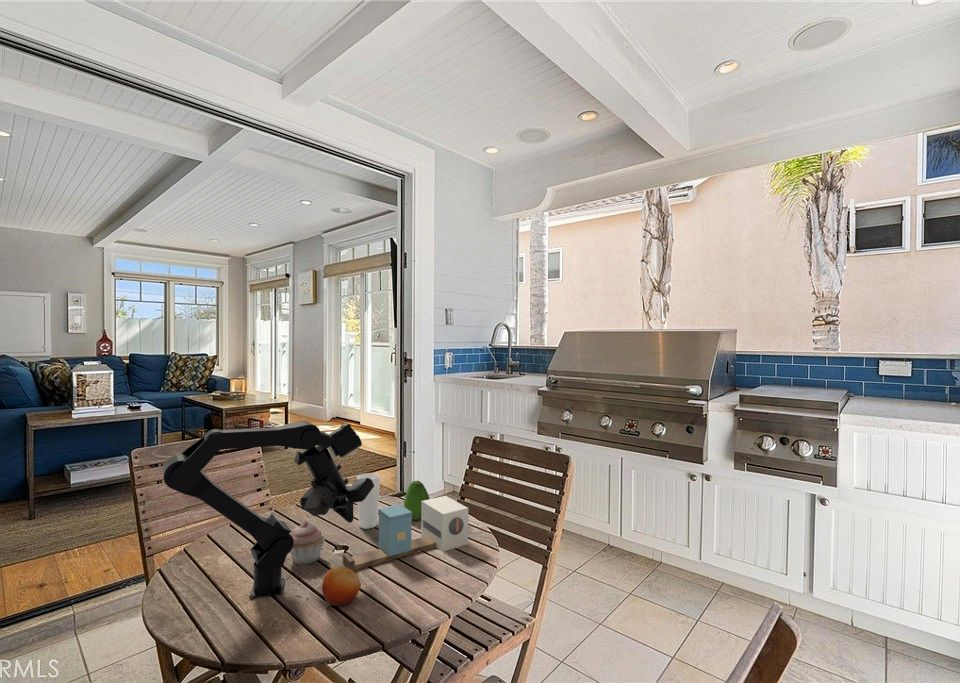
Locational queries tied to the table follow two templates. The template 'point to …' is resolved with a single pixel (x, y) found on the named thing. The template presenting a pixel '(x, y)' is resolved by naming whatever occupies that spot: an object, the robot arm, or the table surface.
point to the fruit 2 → (415, 498)
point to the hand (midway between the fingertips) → (351, 521)
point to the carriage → (395, 529)
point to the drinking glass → (369, 503)
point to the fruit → (340, 586)
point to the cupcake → (306, 543)
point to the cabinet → (444, 522)
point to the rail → (384, 554)
